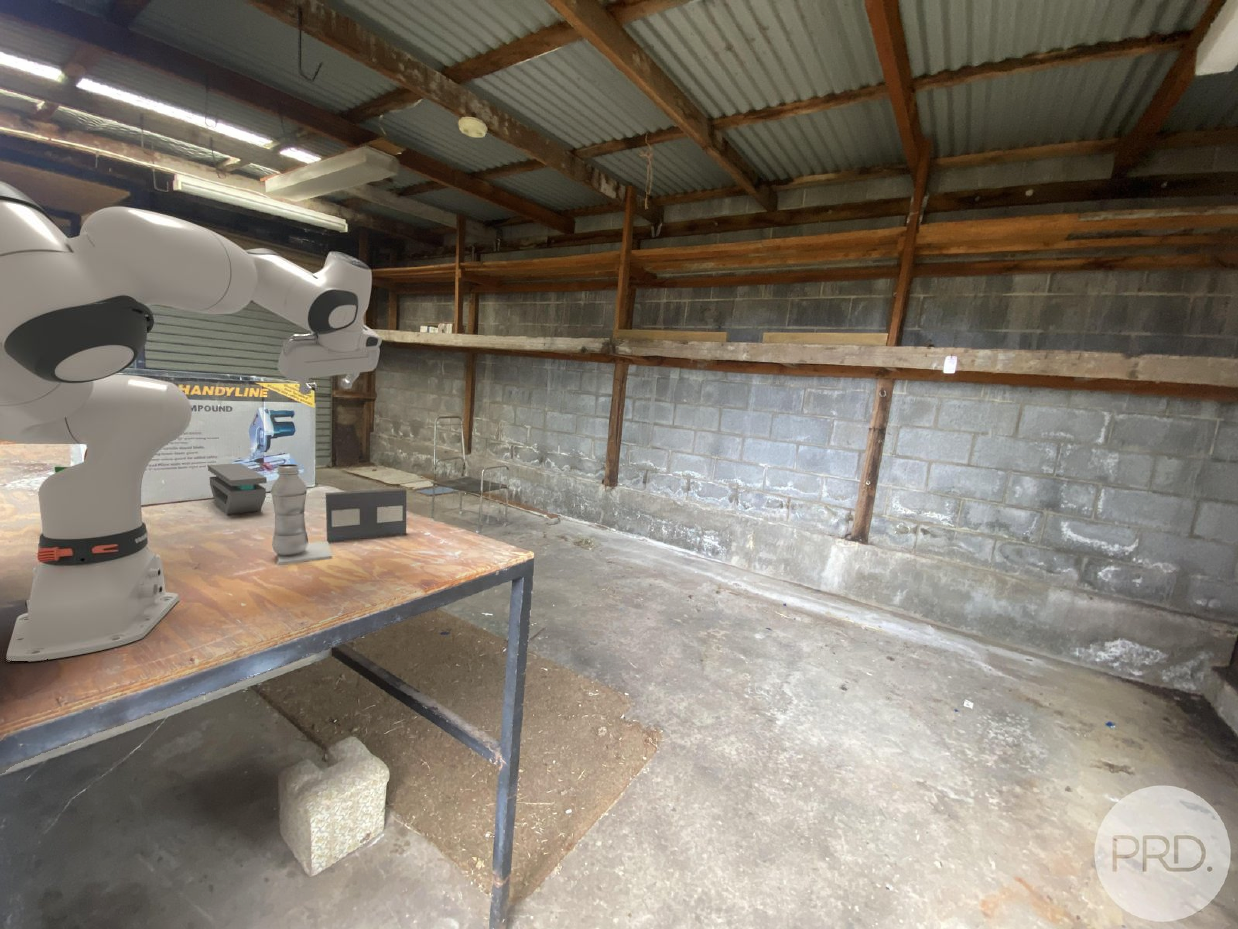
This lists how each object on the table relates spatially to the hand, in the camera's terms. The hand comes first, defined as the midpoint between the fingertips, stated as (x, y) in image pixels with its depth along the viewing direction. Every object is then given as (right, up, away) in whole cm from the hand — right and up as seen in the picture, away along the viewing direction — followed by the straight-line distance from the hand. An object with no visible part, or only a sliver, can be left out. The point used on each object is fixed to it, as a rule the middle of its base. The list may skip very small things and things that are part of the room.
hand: (326, 389), depth 109 cm
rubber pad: (-8, -37, +5) cm, 38 cm away
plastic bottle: (-9, -36, +3) cm, 38 cm away
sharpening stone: (-46, -29, +35) cm, 64 cm away
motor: (-62, -32, +11) cm, 71 cm away
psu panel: (0, -35, +18) cm, 39 cm away
